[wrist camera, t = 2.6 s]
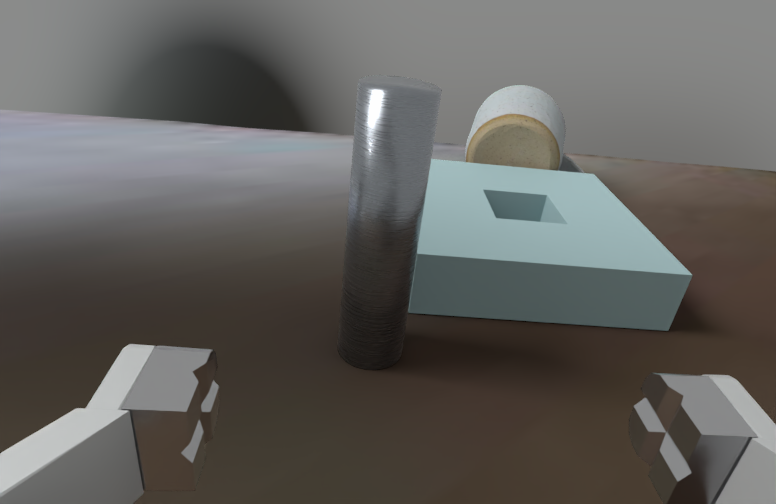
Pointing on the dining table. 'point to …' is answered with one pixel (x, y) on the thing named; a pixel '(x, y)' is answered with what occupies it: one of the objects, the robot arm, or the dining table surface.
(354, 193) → the pin
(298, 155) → the dining table surface
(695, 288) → the dining table surface
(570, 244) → the socket block
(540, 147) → the ceramic mug
